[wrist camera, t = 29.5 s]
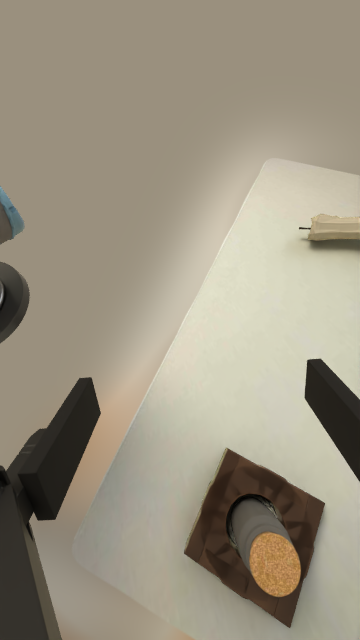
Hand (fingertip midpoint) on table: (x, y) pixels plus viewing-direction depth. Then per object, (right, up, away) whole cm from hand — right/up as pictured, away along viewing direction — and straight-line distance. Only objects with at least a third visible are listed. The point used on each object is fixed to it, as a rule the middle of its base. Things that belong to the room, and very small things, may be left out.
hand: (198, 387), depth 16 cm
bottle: (+9, -25, +23) cm, 35 cm away
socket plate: (+9, -25, +23) cm, 35 cm away
